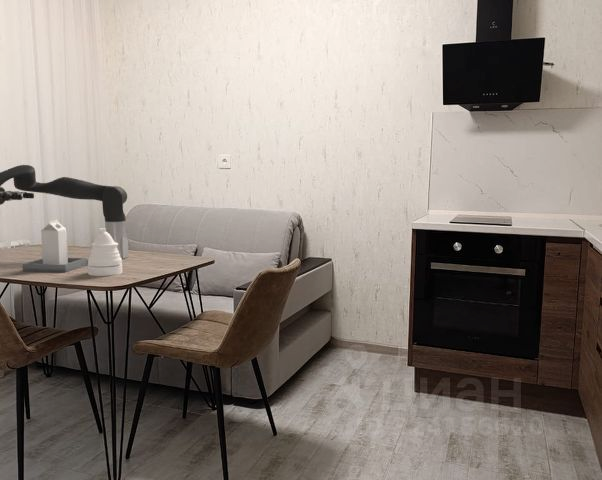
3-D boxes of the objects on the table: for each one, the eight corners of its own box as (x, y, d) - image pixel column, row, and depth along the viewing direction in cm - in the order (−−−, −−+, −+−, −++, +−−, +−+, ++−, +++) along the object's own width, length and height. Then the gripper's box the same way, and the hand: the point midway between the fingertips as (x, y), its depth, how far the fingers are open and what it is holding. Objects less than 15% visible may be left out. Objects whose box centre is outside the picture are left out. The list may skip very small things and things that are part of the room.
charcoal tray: (87, 264, 238) (86, 258, 238) (65, 272, 221) (65, 264, 220) (47, 263, 240) (46, 257, 240) (22, 271, 222) (22, 263, 222)
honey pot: (117, 275, 214) (116, 229, 212) (83, 276, 213) (81, 229, 211) (125, 270, 227) (124, 226, 225) (93, 270, 226) (92, 226, 224)
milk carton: (42, 266, 227) (40, 220, 225) (51, 264, 234) (49, 219, 232) (59, 267, 226) (57, 220, 224) (68, 264, 234) (66, 219, 231)
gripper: (-22, 187, 222) (16, 188, 220) (0, 185, 236) (37, 186, 234) (-21, 205, 223) (17, 207, 221) (1, 202, 237) (37, 204, 235)
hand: (27, 196), depth 228 cm, fingers open, 8 cm apart
